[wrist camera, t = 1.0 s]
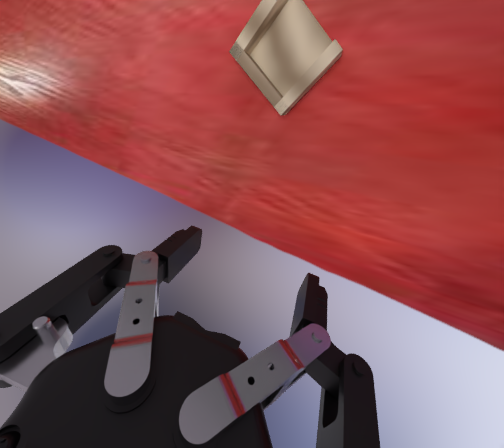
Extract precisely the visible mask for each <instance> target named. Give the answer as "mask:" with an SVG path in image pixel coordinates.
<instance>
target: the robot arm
mask: <svg viewBox="0 0 504 448" xmlns="http://www.w3.org/2000/svg"><path fill="white" fill-rule="evenodd" d="M201 237H202V229H200V228H197V227H195V226H191V227H189V228H188V229H187V230H183V229H182V230H180V231H177V232H175V233H174V234H173V235H171V237H169V238H168V239H167V240H165V241H164V242H162V243H161V244H160V245H159V246H157V247H156V248H155V249H153V250H152V251H143V252H140V253H138V254H137V255H131V254H124V253H122V249H121V248H120V247H119V246H115V245H108V246H104V247H102V248H100V249H98V250H97V251H95V252H93V253H92V254H90V255H89V256H87V257H86V258H84V259H83V260H81V261H80V262H78V263H77V264H75V265H74V266H72V267H71V268H69V269H68V270H66V271H64V272H63V273H61V274H60V275H58V276H57V277H55V278H54V279H52V280H51V281H49V282H48V283H46V284H45V285H43V286H42V287H40V288H39V289H37V290H35V291H34V292H32V293H31V294H29V295H28V296H26V297H25V298H24V299H22V300H20V301H19V302H17V303H16V304H14V305H13V306H11V307H10V308H8V309H7V310H5V311H3V312H2V313H0V388H6V387H10V386H15V387H17V388H19V389H21V390H23V391H25V392H26V393H25V394H24V396H23V398H22V400H21V401H20V403H19V404H18V406H17V407H16V409H15V410H14V411H13V413H12V414H11V416H10V417H9V418H8V419H7V421H6V422H5V423H4V424H3V425H2V427H1V428H0V448H273V447H272V443H271V439H270V435H269V431H268V428H267V424H266V420H265V415H264V412H263V411H264V410H265V409H266V408H267V407H268V406H270V405H271V404H272V403H273V402H274V401H276V399H278V398H279V397H280V396H281V395H282V394H283V393H284V392H285V391H286V390H287V389H288V388H290V387H291V386H292V385H293V384H294V383H295V382H297V381H298V380H299V379H300V378H301V377H302V376H304V375H305V374H306V373H308V374H309V375H310V376H311V377H312V378H313V379H314V380H315V381H316V382H317V383H318V384H319V385H320V386H321V387H322V389H321V400H320V410H319V421H318V432H317V443H316V448H380V441H379V431H378V420H377V410H376V400H375V390H374V380H373V373H372V371H371V368H370V366H369V365H368V364H367V362H365V360H364V359H363V358H361V357H360V356H358V355H356V354H348V355H346V354H344V353H343V352H342V351H341V350H339V349H338V348H337V347H336V346H335V345H334V344H333V343H332V342H331V340H330V336H329V334H328V333H327V298H328V296H327V292H326V290H325V288H324V287H322V286H319V277H318V276H315V275H313V274H310V273H308V274H307V276H306V277H305V279H304V281H303V283H302V285H301V287H300V289H299V292H298V295H297V300H296V305H295V311H294V316H293V322H292V327H291V332H290V337H289V338H288V339H286V340H284V341H283V340H279V341H277V342H275V343H274V344H272V345H271V346H269V347H267V348H266V349H264V350H263V351H261V352H259V353H258V354H256V355H255V356H253V357H252V358H250V359H248V357H247V356H246V354H245V353H244V352H243V351H242V350H241V349H240V348H239V345H240V341H237V340H236V339H234V338H232V337H230V336H227V335H225V334H222V333H217V332H211V331H207V330H205V329H204V328H202V327H201V326H200V325H199V324H198V323H197V322H196V321H195V320H194V319H192V318H191V317H188V316H186V315H184V314H182V313H180V312H178V311H177V313H176V314H175V315H174V316H169V315H164V316H158V307H159V284H160V283H161V282H162V281H164V282H166V283H169V282H170V281H171V280H172V279H173V278H174V277H175V276H176V275H177V274H178V273H179V272H180V271H181V270H182V268H183V267H184V266H185V265H186V264H187V263H188V262H189V261H190V260H191V259H192V258H193V257H194V256H195V255H196V254H197V252H198V251H199V249H200V245H201ZM122 288H125V291H124V296H123V301H122V306H121V311H120V316H119V321H118V325H117V330H116V333H114V334H111V335H109V336H106V337H104V338H101V339H99V340H96V341H94V342H91V343H89V344H86V345H84V346H81V347H79V348H76V349H74V350H71V351H69V352H67V353H65V352H66V349H67V348H68V347H69V346H70V344H71V342H72V340H73V334H74V333H75V332H76V331H77V330H78V329H79V328H80V327H81V326H82V325H84V324H85V323H86V322H87V321H88V320H89V319H90V318H91V317H92V316H93V315H94V314H95V313H96V312H97V311H98V310H99V309H101V308H102V307H103V306H104V305H105V304H106V303H107V302H108V301H109V300H110V299H111V298H112V297H113V296H115V295H116V294H117V293H118V292H119V291H120V290H121V289H122Z"/></svg>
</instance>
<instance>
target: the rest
mask: <svg viewBox="0 0 504 448" xmlns="http://www.w3.org/2000/svg"><path fill="white" fill-rule="evenodd" d="M342 51H343V49H342V48H341V46H340V45H339V44H338V42H337V41H336V39H335V40H334V41H333V42H332V41H331V39H330V38H329V37H328V35H327V34H326V32H325V31H324V30H323V28H322V27H321V25H320V24H319V23H318V21H317V20H316V18H315V17H314V16H313V14H312V13H311V11H310V10H309V9H308V7H307V6H306V4H305V3H304V2H303V0H262V1H261V3H260V4H259V6H258V7H257V9H256V10H255V12H254V14H253V15H252V17H251V18H250V20H249V21H248V23H247V24H246V26H245V28H244V29H243V31H242V32H241V34H240V35H239V37H238V39H237V40H236V42H235V43H234V45H233V46H232V48H231V50H230V51H229V52H230V53H231V55H232V56H233V57H234V58H235V60H236V61H237V62H238V63H239V64H240V66H241V67H242V68H243V69H244V71H245V72H246V73H247V74H248V76H249V77H250V78H251V79H252V81H253V82H254V83H255V84H256V85H257V87H258V88H259V89H260V90H261V92H262V93H263V94H264V95H265V97H266V98H267V99H268V100H269V102H270V103H271V104H272V105H273V106H274V108H275V109H276V110H277V111H278V113H279V114H280V115H286V114H287V113H288V112H289V111H290V109H291V108H292V107H293V106H294V105H295V104H296V103H297V102H298V101H299V100H300V99H301V98H302V97H303V96H304V95H305V94H306V93H307V92H308V91H309V90H310V89H311V87H312V86H313V85H314V84H315V83H316V82H317V81H318V80H319V79H320V78H321V77H322V76H323V75H324V74H325V73H326V72H327V71H328V70H329V69H330V68H331V66H332V65H333V64H334V63H335V62H336V61H337V60H338V59H339V58H340V57H341V55H342Z"/></svg>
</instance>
